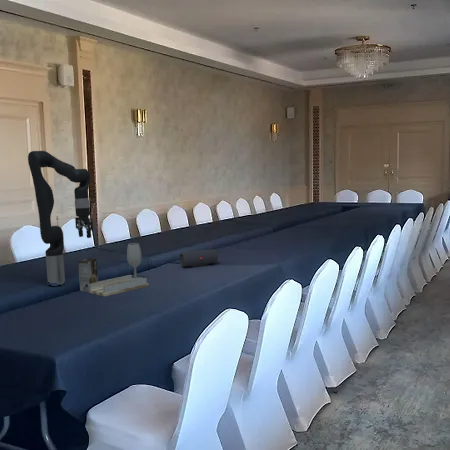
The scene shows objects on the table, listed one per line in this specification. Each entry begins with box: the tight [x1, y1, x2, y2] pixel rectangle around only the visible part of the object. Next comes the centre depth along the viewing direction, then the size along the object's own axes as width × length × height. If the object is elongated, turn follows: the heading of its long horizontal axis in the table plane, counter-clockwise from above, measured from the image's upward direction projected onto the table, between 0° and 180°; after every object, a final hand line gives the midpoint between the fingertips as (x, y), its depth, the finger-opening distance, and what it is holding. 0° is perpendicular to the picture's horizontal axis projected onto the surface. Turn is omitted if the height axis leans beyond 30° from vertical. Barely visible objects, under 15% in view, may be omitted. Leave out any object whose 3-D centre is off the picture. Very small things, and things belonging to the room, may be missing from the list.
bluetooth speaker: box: [179, 248, 219, 268], centre depth 349 cm, size 23×9×10 cm, turn 114°
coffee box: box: [77, 257, 99, 292], centre depth 298 cm, size 9×6×16 cm
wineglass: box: [126, 242, 143, 280], centre depth 314 cm, size 9×9×21 cm
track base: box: [87, 274, 150, 298], centre depth 296 cm, size 16×28×4 cm, turn 134°
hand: (85, 237), depth 295 cm, fingers open, 8 cm apart
